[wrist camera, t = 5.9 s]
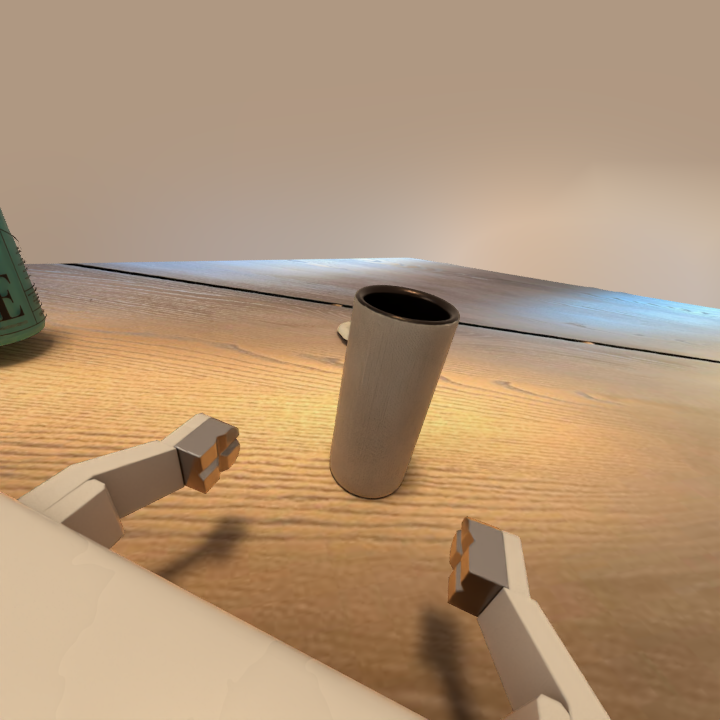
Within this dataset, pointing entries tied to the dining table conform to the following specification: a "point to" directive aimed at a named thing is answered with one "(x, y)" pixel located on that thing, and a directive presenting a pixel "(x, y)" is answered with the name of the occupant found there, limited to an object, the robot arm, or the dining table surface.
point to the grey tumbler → (387, 384)
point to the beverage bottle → (16, 293)
